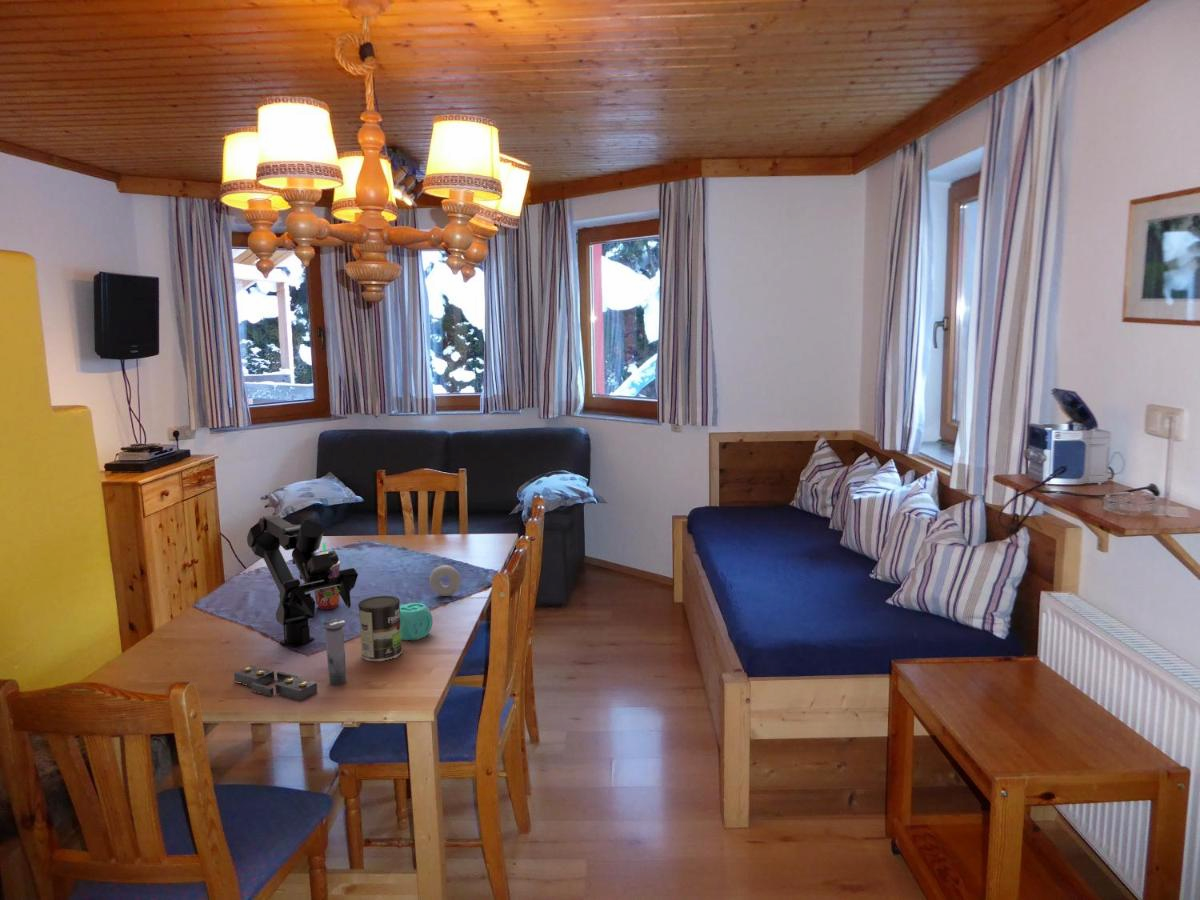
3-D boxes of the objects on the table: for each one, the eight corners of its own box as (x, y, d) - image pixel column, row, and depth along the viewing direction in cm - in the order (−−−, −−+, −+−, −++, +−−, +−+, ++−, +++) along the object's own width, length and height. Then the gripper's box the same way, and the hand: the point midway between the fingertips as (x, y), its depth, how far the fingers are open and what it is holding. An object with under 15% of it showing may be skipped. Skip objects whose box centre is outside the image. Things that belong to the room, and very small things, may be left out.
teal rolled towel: (392, 636, 231) (390, 608, 230) (416, 628, 237) (415, 600, 236) (409, 643, 226) (407, 614, 225) (433, 634, 232) (432, 606, 231)
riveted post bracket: (229, 684, 201) (228, 672, 201) (257, 672, 208) (256, 660, 208) (294, 703, 190) (293, 691, 190) (322, 690, 197) (321, 677, 197)
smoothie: (326, 612, 251) (322, 547, 248) (307, 608, 256) (303, 544, 253) (348, 604, 258) (344, 541, 255) (329, 600, 263) (325, 538, 260)
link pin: (322, 683, 201) (318, 624, 198) (338, 676, 205) (334, 617, 203) (337, 687, 198) (333, 627, 196) (352, 680, 202) (348, 621, 200)
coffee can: (409, 647, 222) (406, 596, 220) (391, 663, 212) (388, 609, 210) (372, 645, 224) (369, 594, 222) (354, 660, 214) (350, 607, 212)
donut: (463, 594, 266) (461, 564, 265) (459, 598, 263) (458, 567, 261) (432, 594, 267) (430, 563, 266) (428, 597, 264) (427, 566, 262)
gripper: (277, 549, 205) (299, 598, 196) (350, 536, 217) (374, 581, 208) (270, 580, 211) (292, 628, 203) (341, 565, 223) (364, 610, 215)
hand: (331, 610), depth 207 cm, fingers open, 9 cm apart
